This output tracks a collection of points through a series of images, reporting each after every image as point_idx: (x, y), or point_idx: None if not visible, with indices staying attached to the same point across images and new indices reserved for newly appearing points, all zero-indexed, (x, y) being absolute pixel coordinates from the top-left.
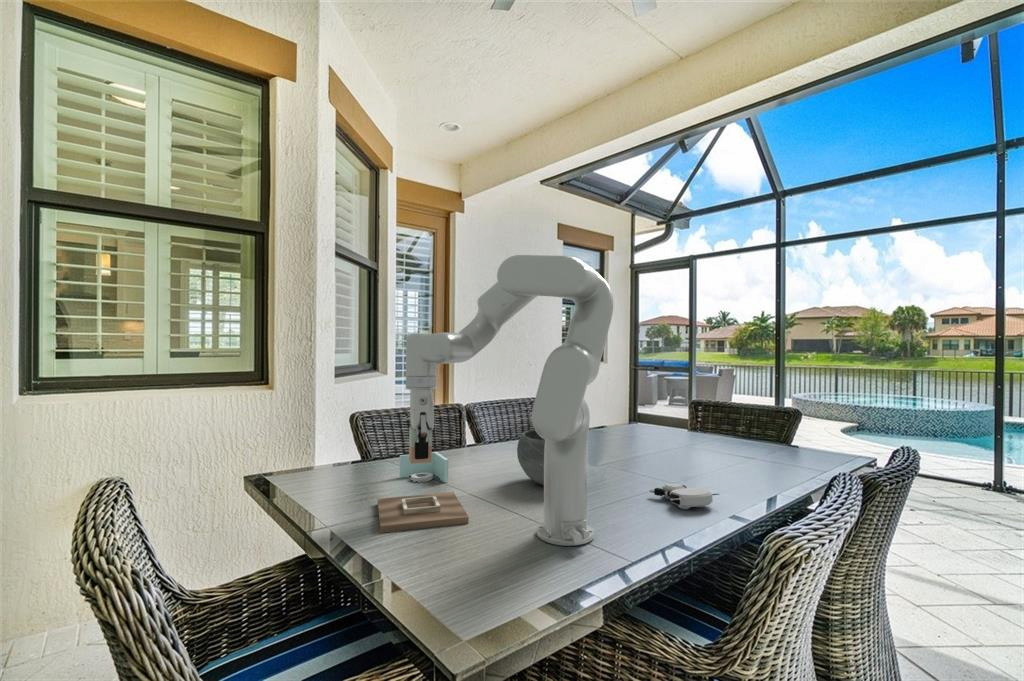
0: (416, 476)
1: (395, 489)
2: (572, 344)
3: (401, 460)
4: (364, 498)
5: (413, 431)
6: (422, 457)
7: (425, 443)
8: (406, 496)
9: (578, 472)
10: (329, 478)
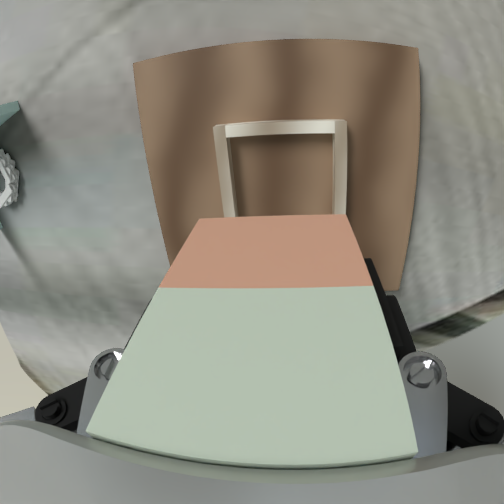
0: (4, 193)
1: (68, 238)
2: None
3: None
4: (136, 306)
5: None
6: None
7: (418, 360)
8: (162, 219)
9: None
10: (39, 344)
